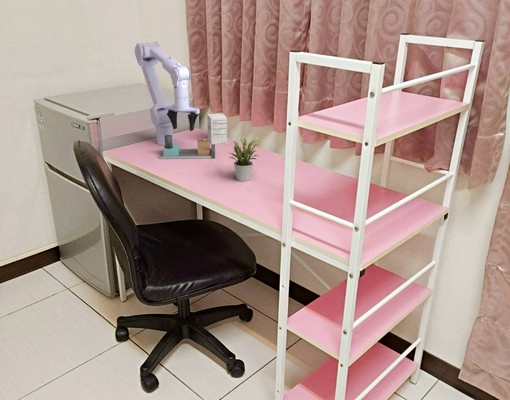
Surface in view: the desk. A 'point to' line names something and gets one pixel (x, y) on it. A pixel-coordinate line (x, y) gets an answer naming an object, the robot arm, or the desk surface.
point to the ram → (170, 147)
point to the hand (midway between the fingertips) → (183, 129)
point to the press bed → (191, 154)
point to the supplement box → (217, 128)
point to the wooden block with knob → (203, 147)
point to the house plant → (244, 159)
